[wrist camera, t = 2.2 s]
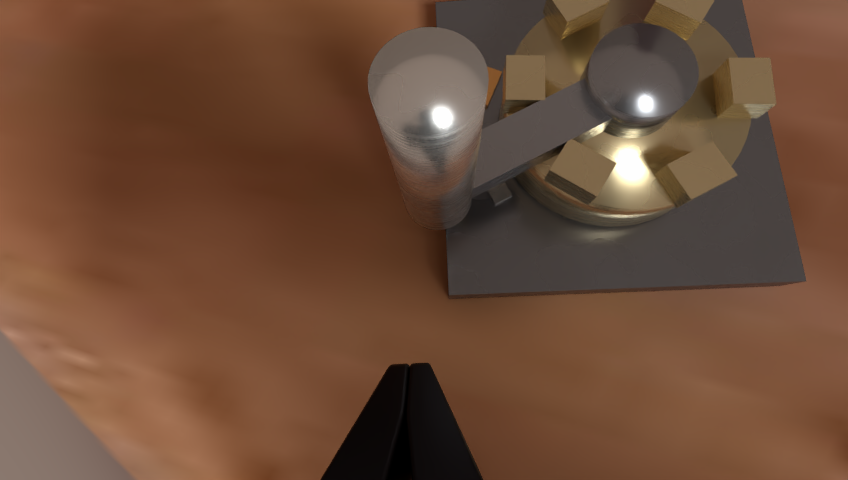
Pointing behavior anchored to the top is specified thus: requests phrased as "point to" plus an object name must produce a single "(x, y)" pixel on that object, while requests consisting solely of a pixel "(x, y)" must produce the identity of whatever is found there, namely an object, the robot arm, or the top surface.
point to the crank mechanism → (571, 112)
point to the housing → (620, 245)
